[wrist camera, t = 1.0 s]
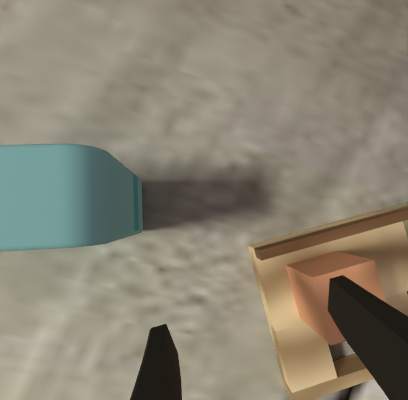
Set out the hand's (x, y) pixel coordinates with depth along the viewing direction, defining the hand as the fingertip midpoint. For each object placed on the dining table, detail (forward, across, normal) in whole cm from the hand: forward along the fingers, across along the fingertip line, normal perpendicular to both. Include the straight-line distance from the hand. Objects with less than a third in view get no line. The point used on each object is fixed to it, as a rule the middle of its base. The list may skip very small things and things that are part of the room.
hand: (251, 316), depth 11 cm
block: (+7, -7, +8) cm, 13 cm away
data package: (+14, +11, -1) cm, 18 cm away
